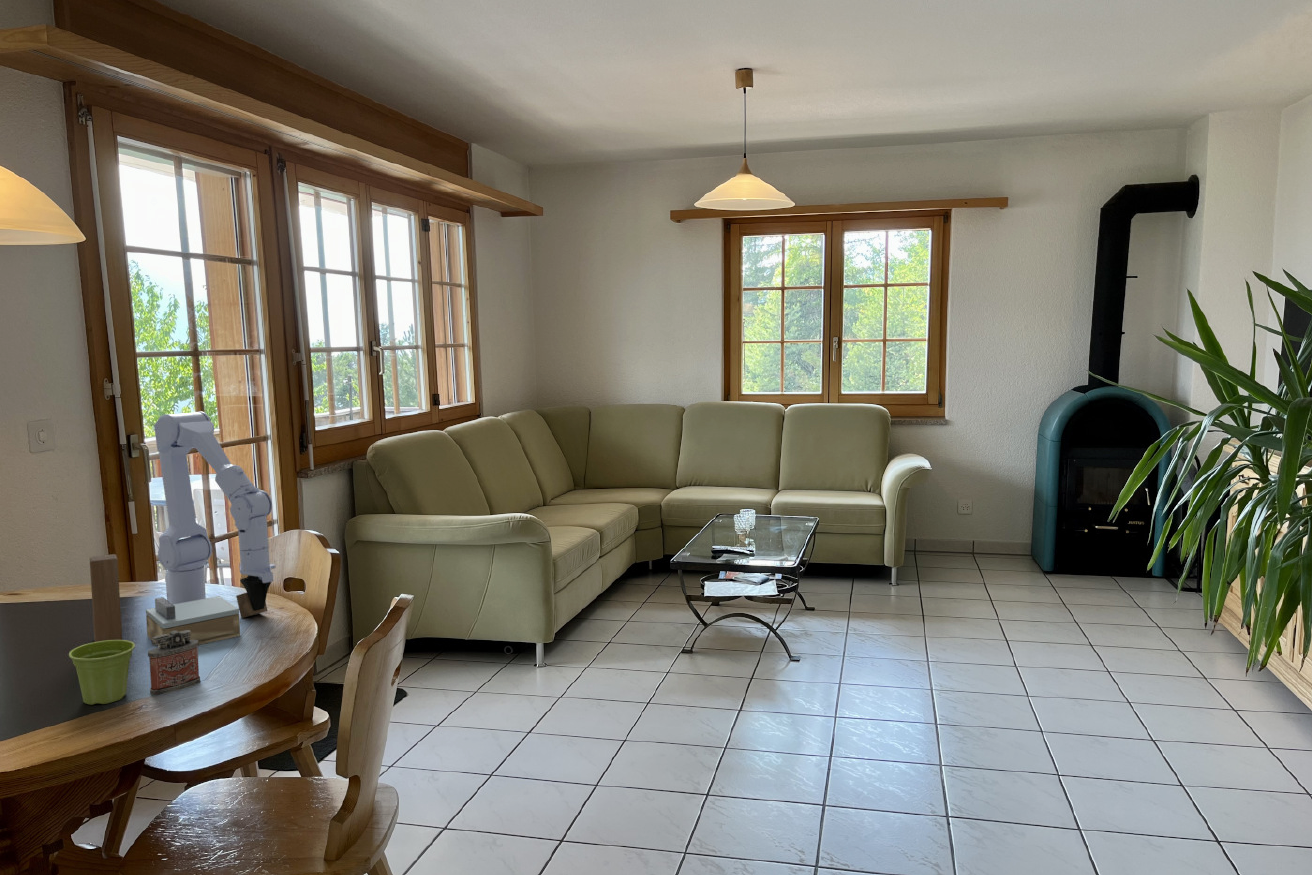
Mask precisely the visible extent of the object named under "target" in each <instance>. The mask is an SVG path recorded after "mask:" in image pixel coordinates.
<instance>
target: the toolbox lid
mask: <svg viewBox="0 0 1312 875" xmlns="http://www.w3.org/2000/svg"><path fill="white" fill-rule="evenodd" d="M154 603H155V604H154V606H155V607H153V608H147V609H145V615H148V616H149V617H150V618H151V619H152V620H153V621H155V622H156V623H157V624H158V625H159V626H161V627H162V628H163V629H165V628H170V627H175V626H180V625H185V624H190V623H195V622H200V621H205V620H210V619H215V618H220V617H225V616H230V615H235V614H239V615H240V611H239V607H238V606H235V605H234V604H232V603H231V602H229V601H228V600H227V599H225V598H223V597H221V596H220V595H217V596H213V597H208V598H207V597H206V599H200V600H195V601H190V602H184V603H179V604H172V603H170V602H169V601H168V600H167V598H165V597H164V596H162V597H155V598H154Z"/></svg>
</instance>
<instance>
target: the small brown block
mask: <svg viewBox="0 0 1312 875" xmlns="http://www.w3.org/2000/svg"><path fill="white" fill-rule="evenodd" d="M235 597H236V602H237V605H238V606H237V607H238V608H239V616H240V619H243V618H247V617H251V616H255V615H259V614H262V613H265V612H268V606H267V603H266V602H267V600H266V601H265V606H264V609H261V610H256V611H254V610H253V608H252V606H251V603H250V600H249V597H248V594H247V592H244V593H241V594H238V595H236V596H235Z"/></svg>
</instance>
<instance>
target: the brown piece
mask: <svg viewBox="0 0 1312 875" xmlns="http://www.w3.org/2000/svg"><path fill="white" fill-rule="evenodd" d="M145 615H146V614H145ZM145 617H146V618H145V621H146V635H147V636H148V637H149V638H150V641H152V638H153V637H156V636H160V635H164V634H167V635H168V634H170V632H171V631H174V630H175V631H178V632H181V631H185V630H190V631H191V637H190V640H198V646H199V645H204V644H208V643H213V642H218V641H223V640H227V639H228V640H229V639H231V638H232V639H233V638H235V637H236V638H237V637H240V636H241V624H240V623H241V621H240V619H241V618H240V613H239V614H235V615H230V616H225V617H220V618H215V619H210V620H205V621H200V622H195V623H190V624H185V625H180V626H175V627H170V628H165V629H163V628H162V627H161V626H159V625H158V624H157V623H156V622H155V621H153V620H152V619H151V618H150V617H149V616H148V615H146V616H145ZM148 637H147V638H148ZM149 638H148V639H149ZM183 641H185V640H184V638H183ZM167 643H168V642H167ZM167 643H165V644H166V645H167ZM158 646H159V647H160V644H159V645H158ZM158 646H157V647H158Z"/></svg>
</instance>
